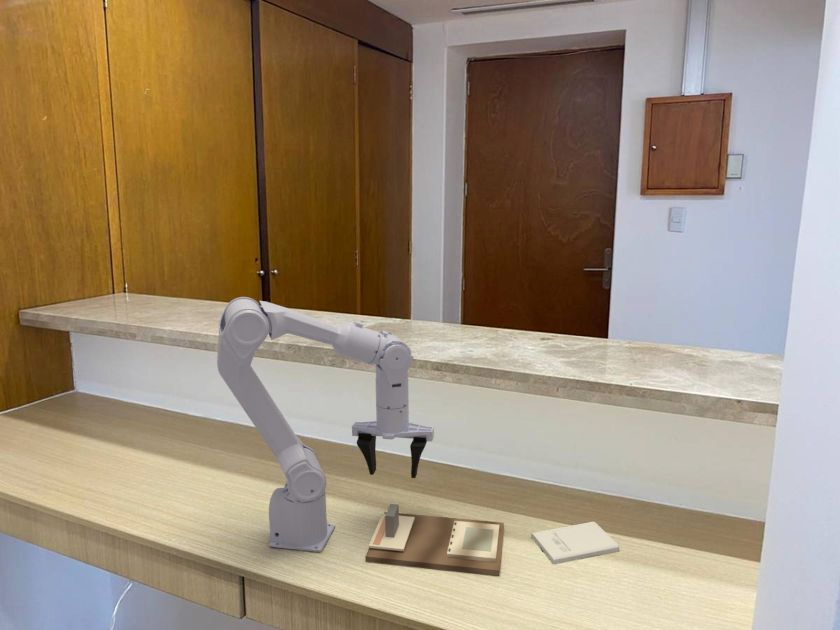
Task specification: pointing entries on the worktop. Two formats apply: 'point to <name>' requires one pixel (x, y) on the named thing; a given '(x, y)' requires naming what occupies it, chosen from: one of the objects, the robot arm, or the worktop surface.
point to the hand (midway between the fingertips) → (393, 473)
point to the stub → (392, 530)
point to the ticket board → (447, 545)
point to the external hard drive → (574, 542)
